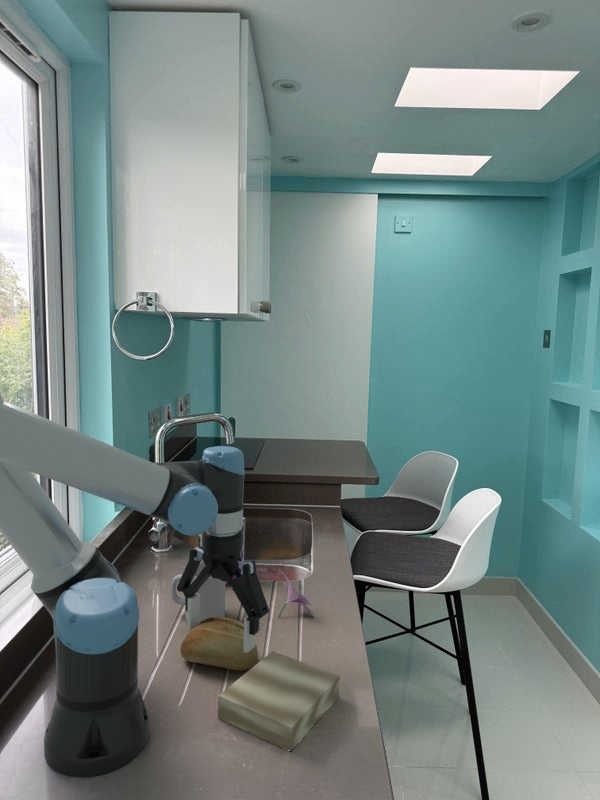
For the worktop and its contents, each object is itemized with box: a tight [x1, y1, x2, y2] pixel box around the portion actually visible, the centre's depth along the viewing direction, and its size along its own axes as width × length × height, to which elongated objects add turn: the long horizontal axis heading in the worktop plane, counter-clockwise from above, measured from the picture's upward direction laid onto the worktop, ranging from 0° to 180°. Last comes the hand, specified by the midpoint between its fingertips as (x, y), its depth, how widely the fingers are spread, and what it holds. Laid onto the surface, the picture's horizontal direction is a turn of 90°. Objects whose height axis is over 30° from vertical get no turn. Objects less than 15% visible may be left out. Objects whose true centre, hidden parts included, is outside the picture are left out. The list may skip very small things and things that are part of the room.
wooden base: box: [217, 650, 341, 751], centre depth 98 cm, size 16×14×4 cm
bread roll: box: [180, 616, 259, 672], centre depth 110 cm, size 10×15×8 cm, turn 83°
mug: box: [170, 563, 226, 622], centre depth 127 cm, size 12×8×11 cm
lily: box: [277, 568, 315, 619], centre depth 130 cm, size 12×12×10 cm
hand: (220, 638), depth 110 cm, fingers closed on bread roll, 13 cm apart
